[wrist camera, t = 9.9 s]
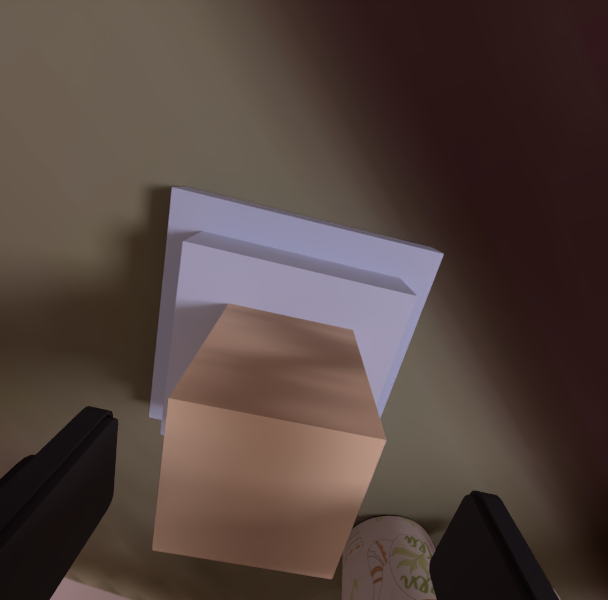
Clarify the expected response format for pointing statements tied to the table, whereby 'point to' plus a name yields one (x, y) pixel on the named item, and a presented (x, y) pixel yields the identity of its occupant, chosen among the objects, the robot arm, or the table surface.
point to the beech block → (268, 445)
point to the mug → (388, 561)
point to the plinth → (292, 237)
